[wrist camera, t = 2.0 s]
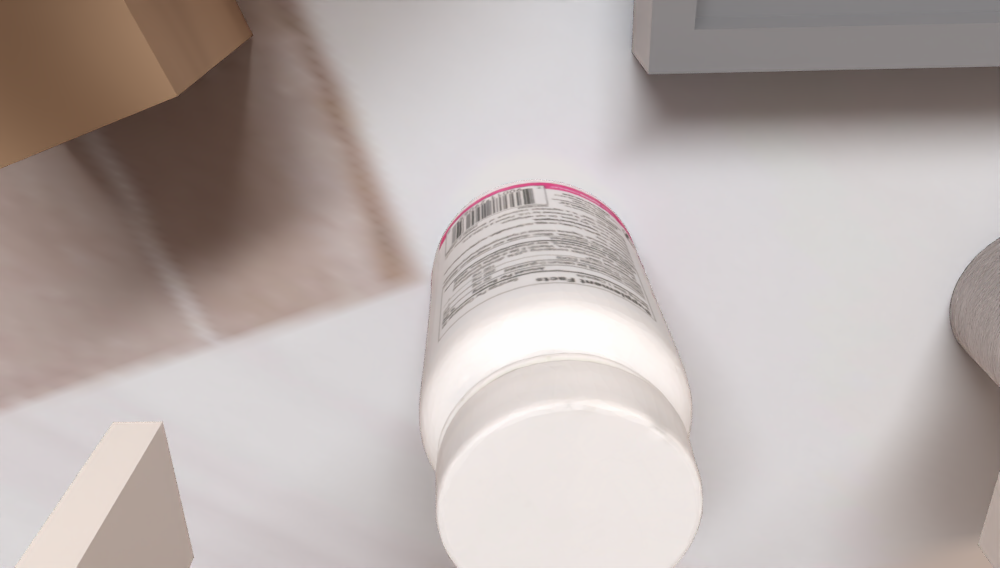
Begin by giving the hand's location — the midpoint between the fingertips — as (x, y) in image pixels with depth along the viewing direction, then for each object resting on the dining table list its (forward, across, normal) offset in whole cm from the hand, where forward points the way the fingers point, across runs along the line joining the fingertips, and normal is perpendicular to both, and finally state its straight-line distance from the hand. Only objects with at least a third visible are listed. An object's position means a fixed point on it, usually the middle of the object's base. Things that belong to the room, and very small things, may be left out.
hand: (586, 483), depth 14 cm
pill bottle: (+8, 0, 0) cm, 8 cm away
